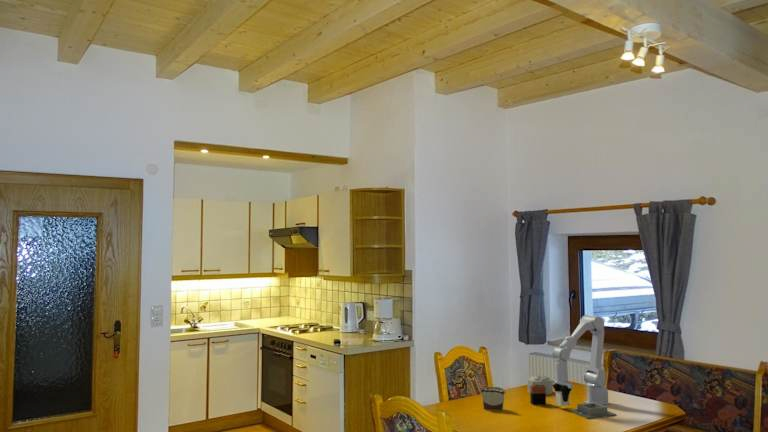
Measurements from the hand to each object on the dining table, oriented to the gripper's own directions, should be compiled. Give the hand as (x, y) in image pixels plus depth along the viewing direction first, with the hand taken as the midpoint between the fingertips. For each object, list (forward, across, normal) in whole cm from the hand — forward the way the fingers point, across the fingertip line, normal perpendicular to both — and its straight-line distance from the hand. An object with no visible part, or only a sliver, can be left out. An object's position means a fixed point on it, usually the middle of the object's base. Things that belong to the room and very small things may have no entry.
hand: (562, 400), depth 285 cm
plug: (+2, 0, 0) cm, 2 cm away
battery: (+4, -12, -6) cm, 14 cm away
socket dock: (+4, +12, +8) cm, 15 cm away
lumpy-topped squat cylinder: (+4, -32, +9) cm, 34 cm away
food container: (+4, -12, -31) cm, 34 cm away
